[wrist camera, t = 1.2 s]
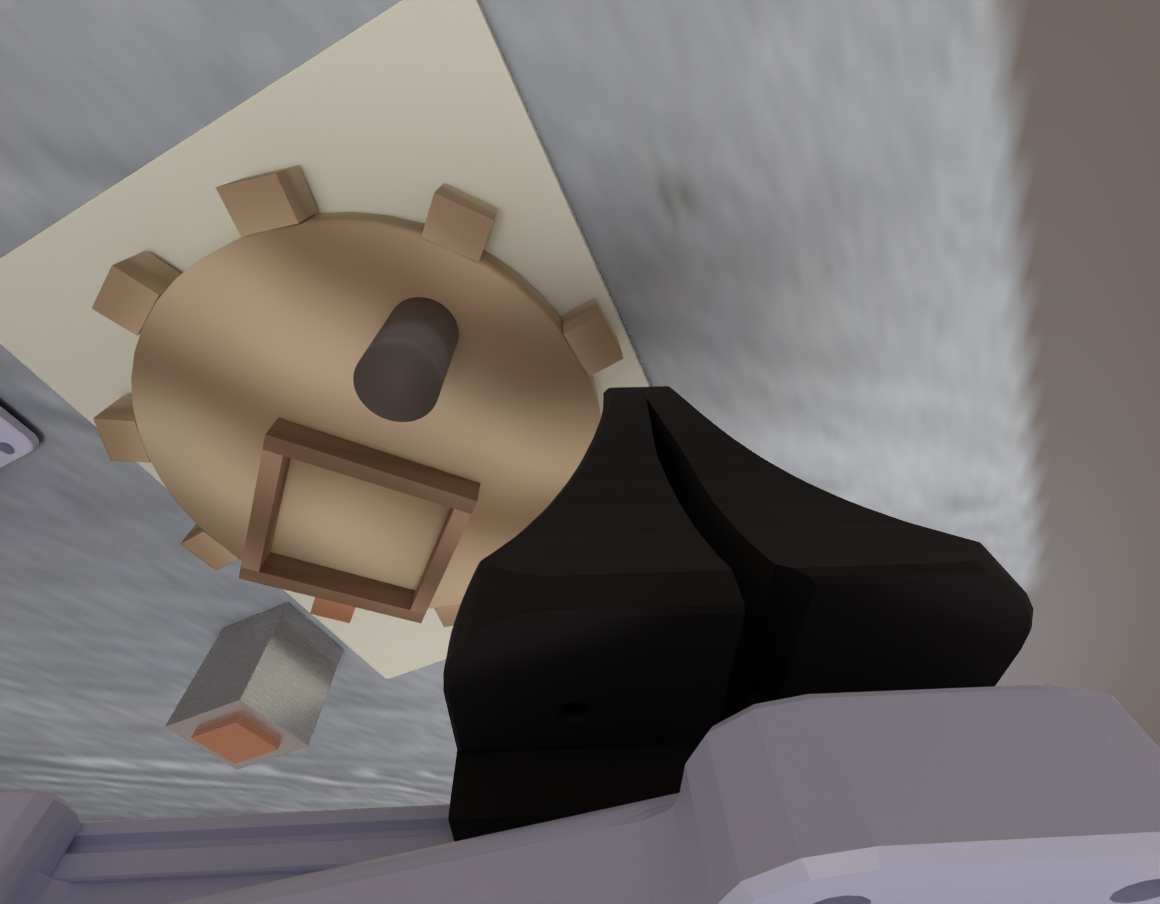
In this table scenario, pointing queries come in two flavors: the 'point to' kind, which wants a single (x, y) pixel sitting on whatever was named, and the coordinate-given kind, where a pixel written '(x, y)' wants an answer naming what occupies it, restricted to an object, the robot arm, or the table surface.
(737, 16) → the table surface
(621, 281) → the table surface
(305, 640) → the copper-capped metal cube
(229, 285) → the sprocket disc
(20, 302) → the index plate
